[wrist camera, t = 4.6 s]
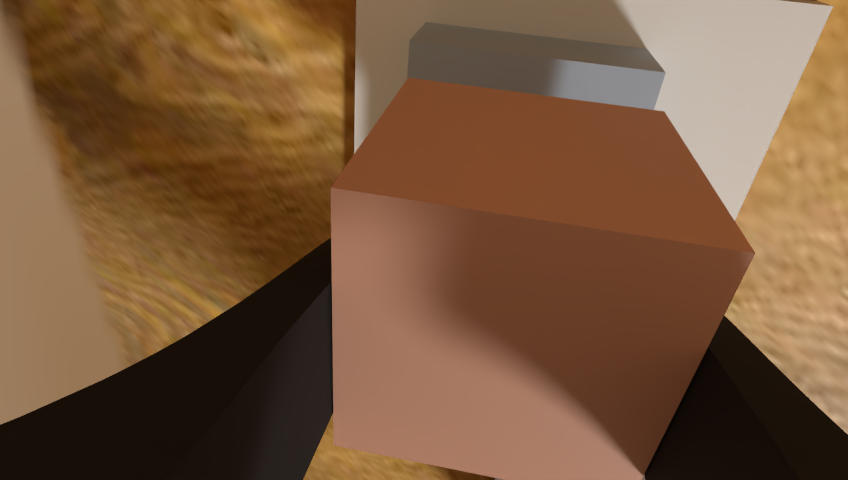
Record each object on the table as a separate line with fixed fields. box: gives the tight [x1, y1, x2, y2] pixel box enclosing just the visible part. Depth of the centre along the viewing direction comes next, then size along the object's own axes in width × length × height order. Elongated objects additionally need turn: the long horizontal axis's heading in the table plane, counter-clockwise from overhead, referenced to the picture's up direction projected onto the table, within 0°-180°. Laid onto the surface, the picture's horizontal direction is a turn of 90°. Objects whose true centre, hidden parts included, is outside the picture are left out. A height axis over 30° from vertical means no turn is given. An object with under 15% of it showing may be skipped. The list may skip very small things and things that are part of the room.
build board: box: [354, 0, 833, 221], centre depth 17 cm, size 11×12×1 cm
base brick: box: [407, 22, 666, 110], centre depth 15 cm, size 6×6×2 cm
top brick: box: [331, 78, 755, 480], centre depth 10 cm, size 5×5×5 cm
